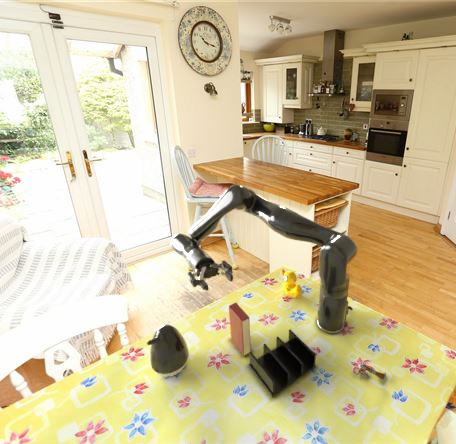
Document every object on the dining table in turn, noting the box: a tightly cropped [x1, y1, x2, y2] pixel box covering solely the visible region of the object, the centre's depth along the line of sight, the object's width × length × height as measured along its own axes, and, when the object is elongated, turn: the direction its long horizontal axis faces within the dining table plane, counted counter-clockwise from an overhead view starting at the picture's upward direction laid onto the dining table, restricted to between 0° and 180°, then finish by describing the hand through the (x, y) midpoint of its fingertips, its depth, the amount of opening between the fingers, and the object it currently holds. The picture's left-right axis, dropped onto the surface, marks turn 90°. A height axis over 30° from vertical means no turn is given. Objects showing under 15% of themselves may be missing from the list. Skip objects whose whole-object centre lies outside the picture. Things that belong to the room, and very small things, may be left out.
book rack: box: [248, 329, 317, 398], centre depth 84 cm, size 16×12×6 cm
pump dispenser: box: [146, 323, 190, 378], centre depth 81 cm, size 10×10×15 cm
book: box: [228, 302, 252, 357], centre depth 89 cm, size 3×8×14 cm, turn 37°
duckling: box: [281, 269, 303, 299], centre depth 114 cm, size 11×5×10 cm, turn 39°
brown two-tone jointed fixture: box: [355, 362, 388, 383], centre depth 82 cm, size 2×8×4 cm, turn 81°
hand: (219, 283), depth 94 cm, fingers open, 8 cm apart
